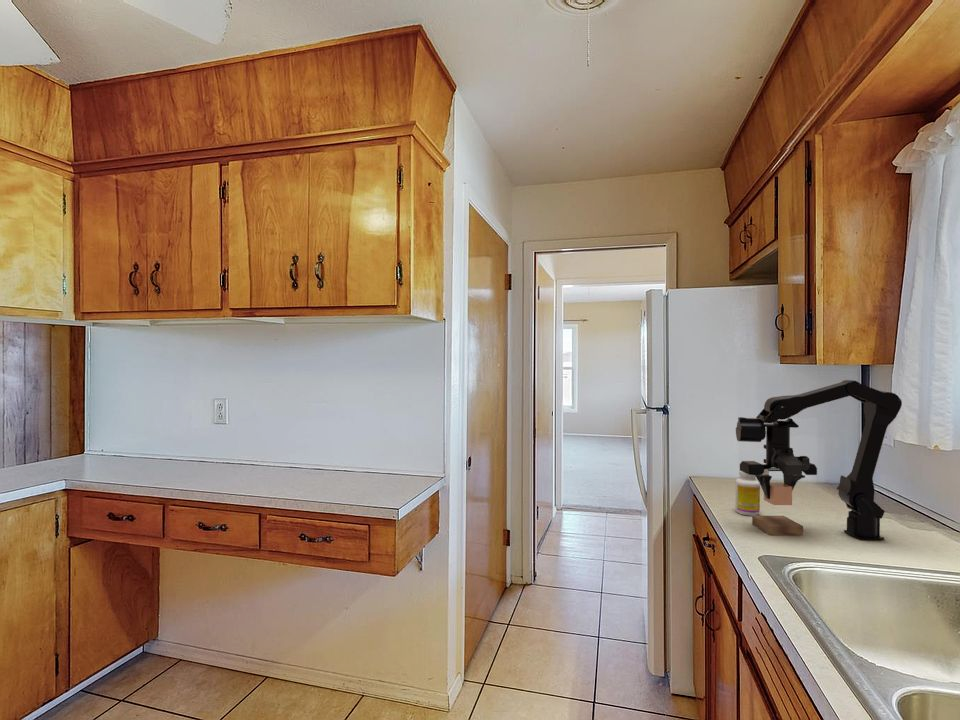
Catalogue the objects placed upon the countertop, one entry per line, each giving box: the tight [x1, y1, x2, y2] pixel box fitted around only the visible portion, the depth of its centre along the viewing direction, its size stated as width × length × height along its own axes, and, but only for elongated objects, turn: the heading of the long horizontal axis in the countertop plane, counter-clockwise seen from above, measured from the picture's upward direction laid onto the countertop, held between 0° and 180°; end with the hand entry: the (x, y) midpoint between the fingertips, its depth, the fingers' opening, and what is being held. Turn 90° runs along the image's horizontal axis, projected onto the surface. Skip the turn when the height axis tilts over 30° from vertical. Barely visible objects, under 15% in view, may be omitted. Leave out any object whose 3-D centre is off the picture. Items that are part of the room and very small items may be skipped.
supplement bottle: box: [735, 470, 761, 517], centre depth 159 cm, size 7×7×13 cm
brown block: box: [751, 515, 804, 536], centre depth 144 cm, size 9×9×2 cm
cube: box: [763, 481, 793, 506], centre depth 144 cm, size 5×5×5 cm
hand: (777, 498), depth 144 cm, fingers closed on cube, 5 cm apart
